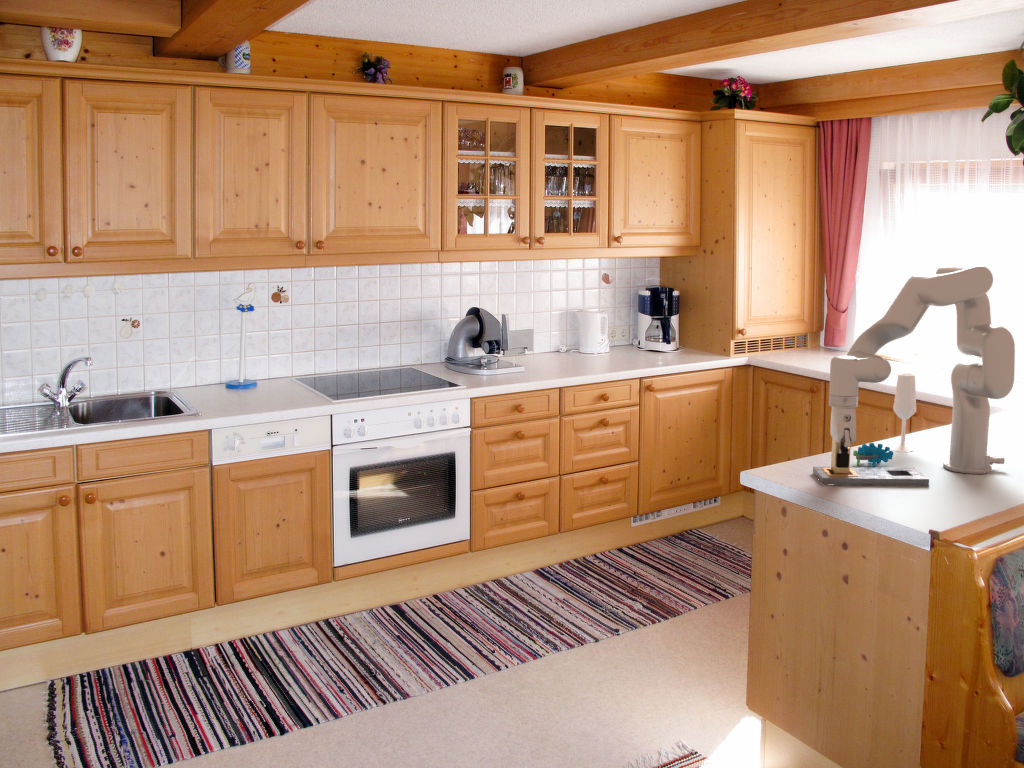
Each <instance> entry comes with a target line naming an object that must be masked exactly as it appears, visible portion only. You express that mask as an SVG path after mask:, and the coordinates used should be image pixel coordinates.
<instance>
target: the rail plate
mask: <svg viewBox="0 0 1024 768" xmlns="http://www.w3.org/2000/svg"><path fill="white" fill-rule="evenodd" d="M812 475H815V476H816V477H817V478H818V479H819V480H818V479H817V478H816V477H815V476H814V477H815V478H816V479H817V480H818V482H819V483H820V482H821V483H822V484H837V485H836V486H858V485H862V486H863V487H865V486H866V487H868V486H870V487H871V486H872V487H873V486H874V487H880V486H882V487H929V486H930V478H928V477H927V476H926V475H925V474H923V473H922V472H921V471H919V470H918V469H916V468H915V467H883V466H882V467H881V466H880V467H872V466H871V467H866V466H865V467H864V466H863V467H861V466H856V467H855V466H850V468H849V475H832V474H831V466H812ZM821 483H820V484H821ZM822 484H821V485H822Z"/></svg>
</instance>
